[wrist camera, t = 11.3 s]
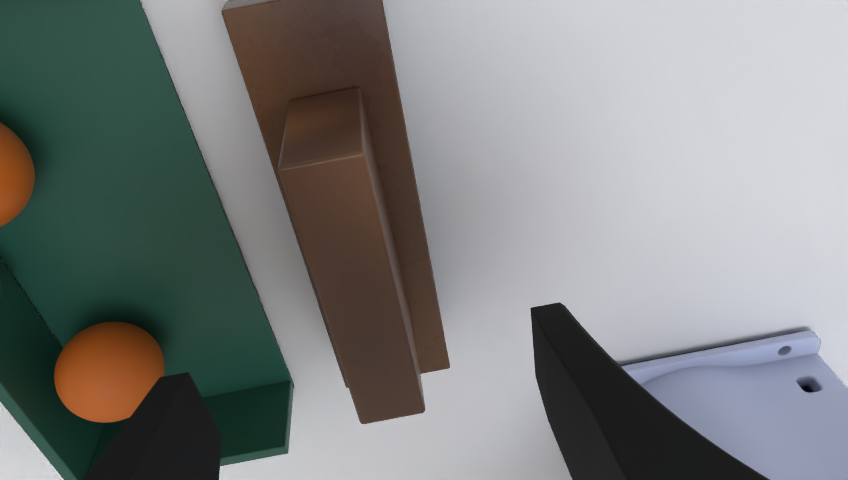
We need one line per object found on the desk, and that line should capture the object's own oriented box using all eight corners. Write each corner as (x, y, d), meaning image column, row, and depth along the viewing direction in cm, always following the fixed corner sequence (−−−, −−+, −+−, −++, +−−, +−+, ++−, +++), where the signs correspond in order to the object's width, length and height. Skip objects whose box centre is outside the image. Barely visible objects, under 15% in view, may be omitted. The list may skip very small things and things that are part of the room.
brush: (374, -39, 16) (388, 26, 11) (441, 324, 23) (468, 458, 18) (234, -13, 16) (188, 64, 11) (345, 343, 23) (346, 481, 18)
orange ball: (62, 308, 21) (155, 295, 21) (104, 374, 23) (190, 362, 22) (14, 381, 18) (120, 367, 18) (66, 449, 20) (163, 437, 20)
